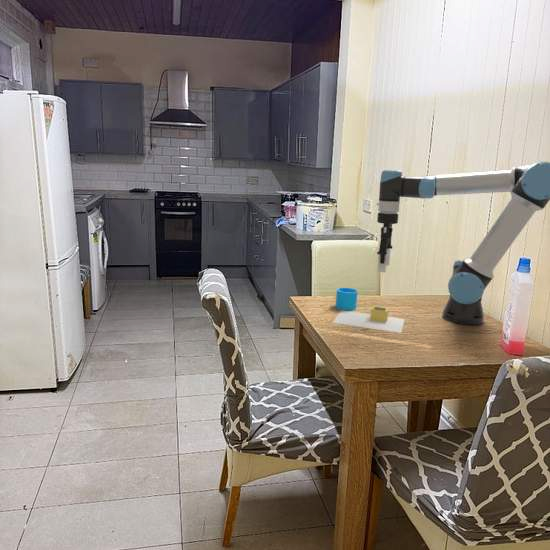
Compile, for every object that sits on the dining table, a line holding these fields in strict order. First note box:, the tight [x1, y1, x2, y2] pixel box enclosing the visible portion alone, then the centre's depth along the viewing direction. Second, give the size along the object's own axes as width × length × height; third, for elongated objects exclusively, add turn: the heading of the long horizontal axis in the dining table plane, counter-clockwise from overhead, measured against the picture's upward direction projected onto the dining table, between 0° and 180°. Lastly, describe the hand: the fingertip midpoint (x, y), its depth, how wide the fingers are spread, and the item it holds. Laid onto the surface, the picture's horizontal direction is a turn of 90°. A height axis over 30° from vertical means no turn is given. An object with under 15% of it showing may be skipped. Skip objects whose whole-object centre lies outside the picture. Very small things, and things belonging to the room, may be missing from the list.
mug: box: [335, 287, 358, 311], centre depth 203 cm, size 12×8×8 cm
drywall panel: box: [332, 309, 405, 334], centre depth 186 cm, size 30×17×1 cm, turn 72°
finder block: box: [370, 304, 390, 322], centre depth 188 cm, size 6×6×4 cm
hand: (383, 268), depth 193 cm, fingers open, 13 cm apart
